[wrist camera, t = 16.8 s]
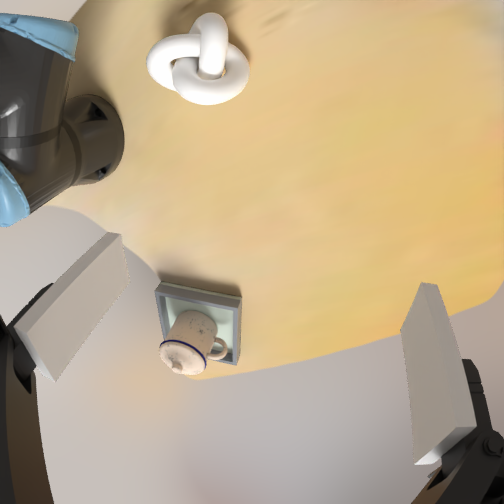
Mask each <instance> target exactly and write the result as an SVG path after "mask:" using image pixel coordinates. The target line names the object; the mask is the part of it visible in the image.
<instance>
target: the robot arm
mask: <svg viewBox="0 0 504 504" xmlns="http://www.w3.org/2000/svg"><path fill="white" fill-rule="evenodd" d="M78 38H79V30H78V28H77V26H76V25H75V24H73V23H71V22H67V21H62V20H56V19H50V18H43V17H35V16H27V15H18V14H8V13H0V227H8V226H11V225H13V224H14V223H16V222H17V221H19V220H21V219H22V218H26V217H27V216H28V215H30V214H31V213H32V212H34V211H35V210H36V209H38V208H39V207H41V206H42V205H44V204H45V203H46V202H48V201H49V200H51V199H52V198H54V197H55V196H57V195H58V194H60V193H61V192H63V191H64V190H66V189H67V188H69V187H71V186H77V185H85V184H92V183H96V182H98V181H100V180H102V179H104V178H105V177H107V176H109V175H110V174H111V173H112V172H113V171H114V170H115V169H116V168H117V166H118V165H119V163H120V160H121V158H122V154H123V149H124V133H123V128H122V124H121V121H120V119H119V117H118V115H117V113H116V111H115V110H114V109H113V107H112V106H111V105H110V104H109V103H108V102H107V101H105V100H104V99H102V98H101V97H98V96H95V95H82V96H78V97H74V98H72V99H69V100H68V101H66V102H65V100H66V95H67V90H68V85H69V80H70V75H71V71H72V67H73V63H74V62H75V52H76V47H77V42H78ZM129 283H130V278H129V273H128V269H127V264H126V259H125V253H124V248H123V243H122V237H121V234H117V233H111V232H107V233H106V234H105V235H104V236H103V237H102V238H101V239H100V240H99V241H97V242H96V243H95V244H94V245H93V246H92V247H91V248H90V249H89V250H88V251H87V252H86V253H85V254H84V255H82V256H81V257H80V258H79V259H78V260H77V261H76V262H75V263H74V264H73V265H72V266H71V267H70V268H69V269H68V270H67V271H66V272H65V273H64V274H63V275H62V276H61V277H60V278H59V279H58V280H57V281H56V282H55V283H51V284H49V285H47V286H46V287H44V288H43V289H41V290H40V291H39V292H38V293H37V294H36V295H35V297H34V298H33V299H32V300H31V301H30V302H29V303H28V305H26V306H25V307H24V308H23V309H22V310H21V311H20V312H19V313H18V315H17V316H16V317H15V318H14V319H13V320H12V321H11V322H10V323H9V324H8V325H7V326H6V325H5V323H4V321H3V319H2V317H1V315H0V504H54V501H53V497H52V493H51V490H50V484H49V480H48V475H47V470H46V465H45V459H44V453H43V448H42V441H41V433H40V425H39V416H38V405H37V392H36V377H35V373H34V371H33V370H34V368H36V366H37V367H38V369H39V371H40V372H41V374H42V375H43V376H45V377H47V378H49V379H51V380H52V381H54V382H56V381H57V379H58V378H59V376H60V375H61V374H62V372H63V371H64V369H65V368H66V367H67V365H68V364H69V362H70V361H71V360H72V358H73V357H74V356H75V354H76V353H77V351H78V350H79V349H80V347H81V346H82V344H83V343H84V342H85V340H86V339H87V338H88V336H89V335H90V334H91V332H92V331H93V330H94V328H95V327H96V326H97V324H98V323H99V322H100V320H101V319H102V318H103V316H104V315H105V314H106V313H107V311H108V310H109V308H110V307H111V306H112V305H113V303H114V302H115V301H116V300H117V298H118V297H119V296H120V295H121V293H122V292H123V291H124V289H125V288H126V287H127V286H128V285H129ZM400 331H401V337H402V344H403V350H404V357H405V364H406V372H407V379H408V387H409V398H410V408H411V420H412V434H413V455H414V465H418V464H433V463H434V462H436V461H437V460H438V459H439V458H442V465H441V466H440V467H439V468H437V469H436V470H435V471H433V472H432V473H431V474H430V475H428V478H430V477H432V478H431V479H430V480H429V482H428V483H427V485H426V486H425V487H424V488H423V489H422V491H421V492H420V493H419V494H418V496H417V497H416V498H415V500H414V501H413V502H412V503H411V504H504V439H503V437H502V436H501V435H500V434H499V433H498V432H496V431H494V430H493V429H492V425H491V420H490V416H489V411H488V407H487V403H486V398H485V395H484V394H483V392H484V390H483V387H482V385H481V379H480V376H479V372H478V370H477V368H476V367H475V365H474V364H473V362H472V361H471V360H470V359H461V356H460V352H459V349H458V345H457V342H456V339H455V335H454V332H453V329H452V326H451V323H450V320H449V317H448V314H447V311H446V308H445V305H444V302H443V300H442V297H441V294H440V291H439V289H438V286H437V285H435V284H429V283H422V282H421V284H420V287H419V289H418V292H417V294H416V296H415V299H414V301H413V303H412V306H411V308H410V310H409V312H408V314H407V317H406V319H405V321H404V323H403V325H402V327H401V329H400Z"/></svg>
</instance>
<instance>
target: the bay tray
mask: <svg viewBox="0 0 504 504" xmlns="http://www.w3.org/2000/svg"><path fill="white" fill-rule="evenodd" d="M155 296H156V302H157V306H158V313H159V317H160V323H161V328H162V332H163V337H164V340H165V338H166V336H167V335H168V333H169V331H170V329H171V327H172V326H173V324H174V322H175V320H176V318H177V317H178V315H179V314H180V313H182V312H184V311H189V310H192V311H198V312H201V313H203V314H205V315H207V316H208V317H209V318H211V319H212V320H213V322H214V323H215V324H216V326H217V330H218V334H217V337H219V338H221V339H223V340H224V341H225V342H226V344H227V354H226V356H225V357H224V358H222V359H219V360H214V361H218V362H223V363H227V364H232V365H237V362H238V359H239V356H240V340H241V313H242V297H238V296H233V295H228V294H222V293H217V292H212V291H207V290H202V289H197V288H192V287H187V286H182V285H177V284H172V283H167V282H162V281H161V283H160V284H159V285H158V287H157V288H156V290H155ZM222 351H223V346H222V345H221V344H219V343H216V342H214V344H213V347H212V349H211V352H210V354H219V353H221V352H222ZM210 360H211V359H210Z"/></svg>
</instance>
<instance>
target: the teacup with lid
mask: <svg viewBox="0 0 504 504" xmlns="http://www.w3.org/2000/svg"><path fill="white" fill-rule="evenodd" d="M217 334H218V330H217V326H216V324H215V323H214V322H213V320H212V319H211V318H209V317H208V316H207V315H205V314H203V313H201V312H198V311H192V310H189V311H184V312H182V313H180V314H179V315H178V317H177V318H176V320H175V322H174V324H173V326H172V327H171V329H170V331H169V333H168V335H167V336H166V338H165V340H164V342H162V343H161V345H160V347H159V354H160V356H161V359H162V360H163V361H164V363H166V365H168V366H169V367H170V368H171V369H172V371H173V372H175V373H183V374H187V375H195V374H199V373H201V372H202V371H203V370H204V369H205V368H206V362H207V359H211V360H219V359H222V358H224V357H225V356H226V354H227V344H226V342H225V341H224V340H223V339H221V338H219V337H217ZM214 342H216V343H219V344H221V345H222V346H223V351H222V352H221V353H219V354H210V352H211V349H212V347H213V344H214Z"/></svg>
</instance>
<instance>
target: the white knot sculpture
mask: <svg viewBox="0 0 504 504" xmlns="http://www.w3.org/2000/svg"><path fill="white" fill-rule="evenodd" d="M174 59H176V62H175V64H174V66H173V64H172V63H171V61H172V60H174ZM146 65H147V68H148V72H149V74H150V75H151V77H152V78H153V79H154V80H155V81H156V82H158V83H159V84H161V85H162V86H164V87H166V88H168V89H171V90H174V91H177V92H178V93H179V94H180V95H181V96H182V97H183V98H184V99H186V100H188V101H190V102H193V103H196V104H202V105H214V104H219V103H222V102H225V101H228V100H229V99H231V98H233V97H235V96H236V95H238V94H239V93H240V92H241V91H242V90H243V89H244V87H245V86H246V84H247V81H248V78H249V75H250V67H249V63H248V61H247V59H246V57H245V55H244V54H243V53H242V52H241V51H240V50H239V49H238V48H237V47H236V46H234V45H232V44H230V43H228V28H227V24H226V22H225V20H224V19H223V17H222V16H220V15H218V14H216V13H205V14H203V15H202V16H200V17H198V18H197V19H196V21H195V22H194V24H193V25H192V27H191V29H190V31H189V33H188V34H179V35H172V36H169V37H166V38H164V39H162V40H160V41H158V42H157V43H156V44H155V45H154V46H153V47H152V48H151V49H150V51H149V53H148V56H147V58H146ZM198 66H199V68H198ZM224 67H225V69H226V73H225V74H224V75H223V76H222V73H223V70H224ZM197 70H198V71H197ZM221 76H222V77H221Z"/></svg>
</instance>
